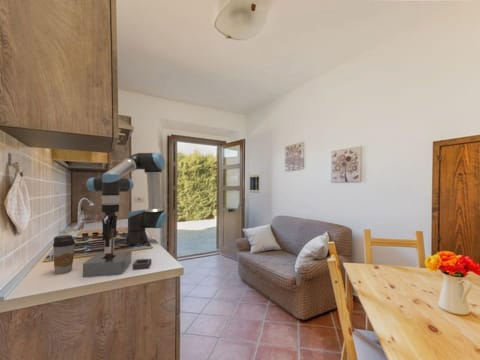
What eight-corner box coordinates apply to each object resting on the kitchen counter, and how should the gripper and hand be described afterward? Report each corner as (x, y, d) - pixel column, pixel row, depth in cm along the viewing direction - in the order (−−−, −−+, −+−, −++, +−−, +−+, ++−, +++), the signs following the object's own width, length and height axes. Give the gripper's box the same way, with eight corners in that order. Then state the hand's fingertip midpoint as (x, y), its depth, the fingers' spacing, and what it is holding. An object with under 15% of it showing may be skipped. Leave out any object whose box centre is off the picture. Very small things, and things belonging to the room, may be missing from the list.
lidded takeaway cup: (67, 254, 130) (68, 234, 130) (75, 256, 126) (76, 235, 127) (49, 259, 122) (50, 237, 122) (56, 261, 118) (57, 239, 119)
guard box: (97, 264, 113) (98, 253, 114) (131, 262, 117) (131, 251, 117) (82, 277, 98) (82, 263, 98) (121, 274, 101) (121, 261, 101)
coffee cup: (54, 276, 98) (55, 243, 99) (49, 272, 103) (50, 240, 104) (76, 271, 105) (77, 239, 105) (71, 267, 110) (72, 237, 110)
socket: (136, 264, 114) (136, 259, 114) (151, 263, 116) (151, 258, 116) (132, 269, 107) (132, 264, 107) (148, 268, 109) (148, 263, 109)
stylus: (106, 262, 109) (107, 227, 109) (113, 262, 109) (114, 227, 110) (104, 264, 105) (104, 229, 106) (111, 264, 106) (112, 228, 107)
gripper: (108, 203, 115) (107, 248, 115) (94, 205, 100) (93, 257, 99) (123, 202, 117) (122, 247, 116) (113, 205, 101) (111, 256, 100)
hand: (109, 251), depth 107 cm, fingers closed on stylus, 3 cm apart
